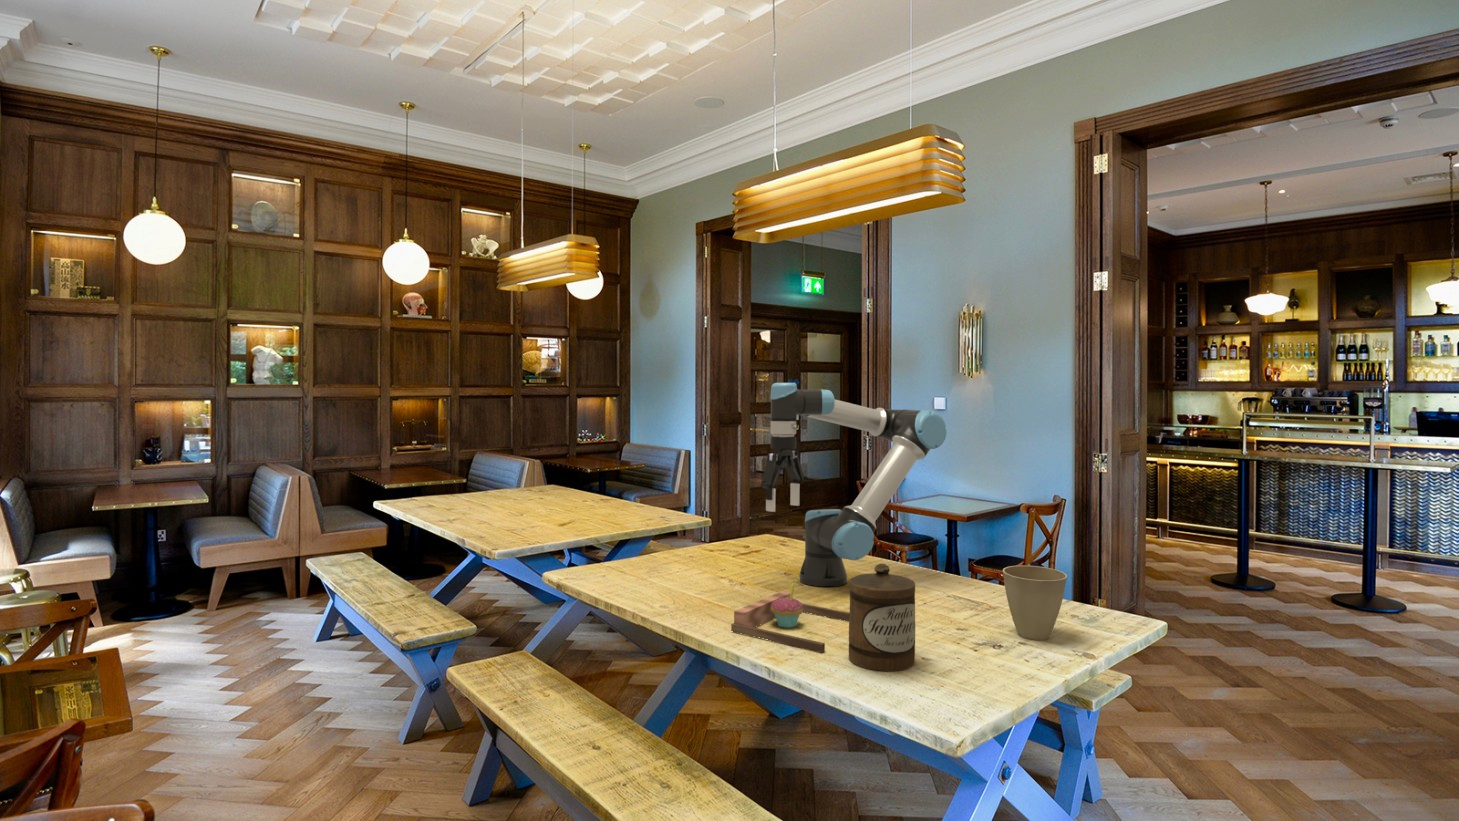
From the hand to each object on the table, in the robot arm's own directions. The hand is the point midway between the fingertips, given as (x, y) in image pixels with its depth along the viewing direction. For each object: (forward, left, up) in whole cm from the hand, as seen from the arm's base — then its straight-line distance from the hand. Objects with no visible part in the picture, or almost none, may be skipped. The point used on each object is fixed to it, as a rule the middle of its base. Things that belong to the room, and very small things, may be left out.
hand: (783, 508), depth 220 cm
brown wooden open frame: (+20, +18, -27) cm, 38 cm away
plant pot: (-9, +68, -27) cm, 74 cm away
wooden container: (+29, +44, -27) cm, 59 cm away
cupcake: (+20, +13, -27) cm, 36 cm away
